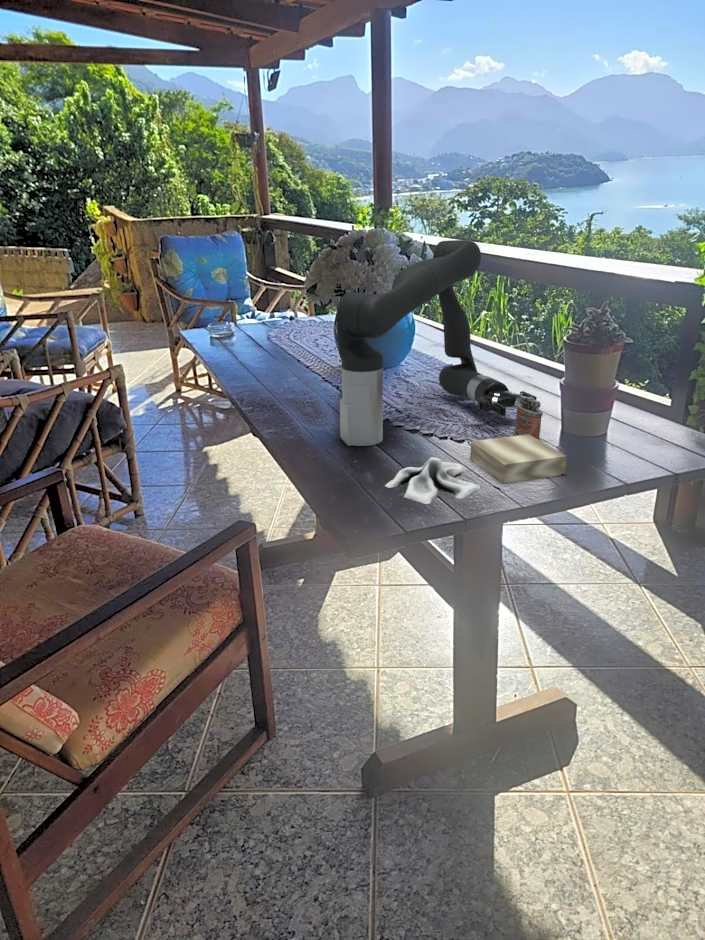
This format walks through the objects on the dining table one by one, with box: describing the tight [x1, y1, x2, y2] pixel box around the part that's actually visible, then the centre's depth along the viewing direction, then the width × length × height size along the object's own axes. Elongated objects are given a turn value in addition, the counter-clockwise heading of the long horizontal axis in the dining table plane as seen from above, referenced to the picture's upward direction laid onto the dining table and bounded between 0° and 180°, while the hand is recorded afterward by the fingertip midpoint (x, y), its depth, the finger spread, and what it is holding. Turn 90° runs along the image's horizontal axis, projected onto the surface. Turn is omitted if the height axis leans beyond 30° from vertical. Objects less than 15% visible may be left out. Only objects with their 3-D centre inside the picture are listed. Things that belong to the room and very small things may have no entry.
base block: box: [469, 434, 567, 484], centre depth 138 cm, size 14×14×4 cm
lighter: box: [513, 396, 544, 441], centre depth 152 cm, size 8×3×10 cm, turn 21°
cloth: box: [384, 457, 481, 505], centre depth 130 cm, size 22×19×6 cm
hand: (520, 410), depth 155 cm, fingers open, 8 cm apart
